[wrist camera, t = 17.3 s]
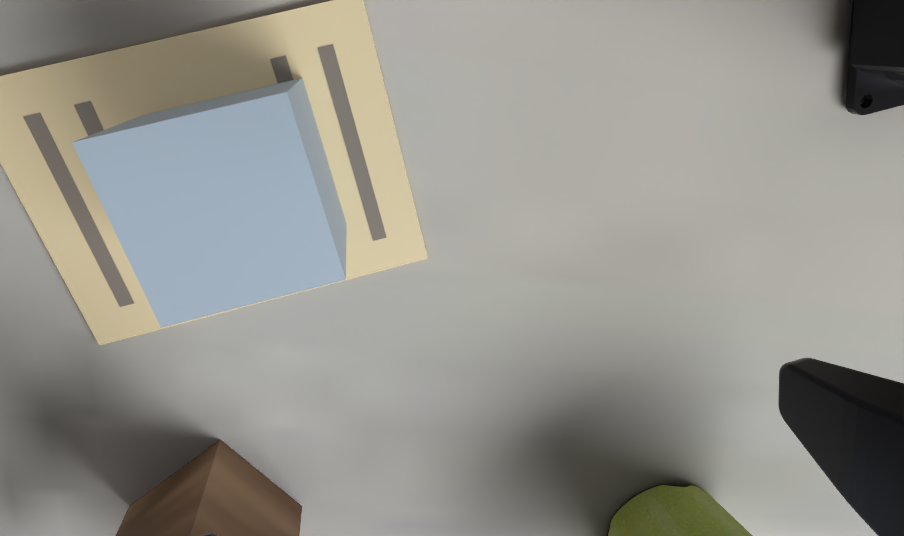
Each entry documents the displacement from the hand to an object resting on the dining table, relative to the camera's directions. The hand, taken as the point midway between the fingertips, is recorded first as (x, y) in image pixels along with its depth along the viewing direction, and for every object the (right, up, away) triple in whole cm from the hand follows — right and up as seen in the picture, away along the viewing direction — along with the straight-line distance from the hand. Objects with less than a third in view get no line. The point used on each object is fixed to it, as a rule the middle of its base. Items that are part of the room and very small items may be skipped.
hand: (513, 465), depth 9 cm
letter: (-9, +6, +10) cm, 15 cm away
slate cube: (-8, +6, +10) cm, 14 cm away
